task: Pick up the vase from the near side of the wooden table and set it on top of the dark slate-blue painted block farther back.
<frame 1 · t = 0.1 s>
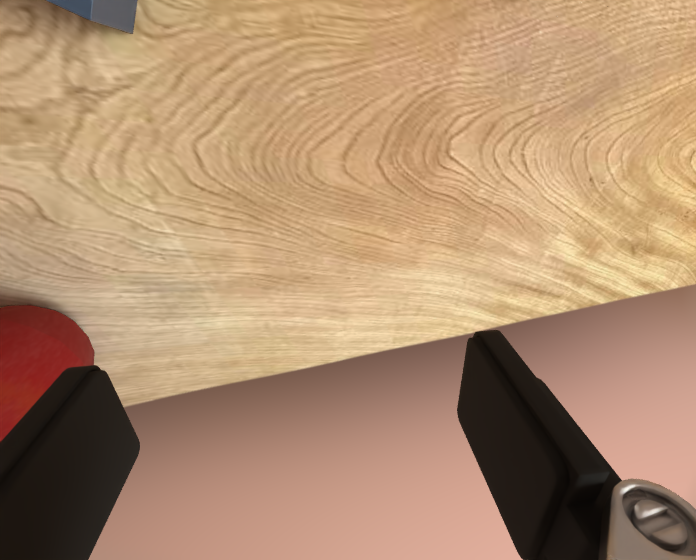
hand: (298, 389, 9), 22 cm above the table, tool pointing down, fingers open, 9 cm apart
apple: (57, 332, 33), on the table
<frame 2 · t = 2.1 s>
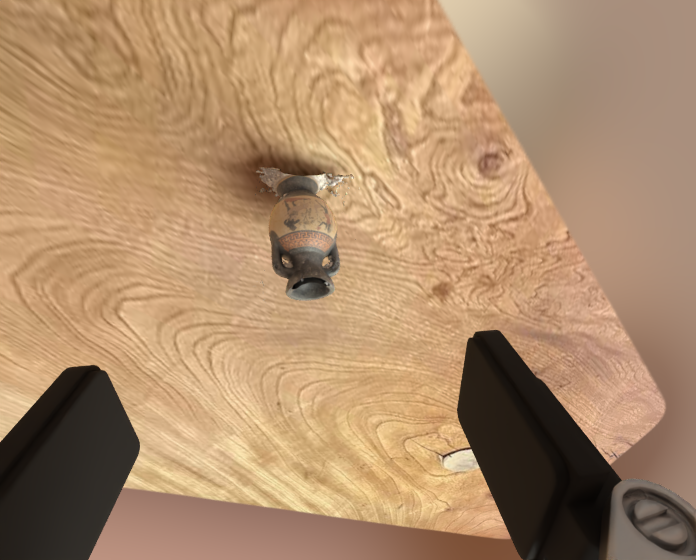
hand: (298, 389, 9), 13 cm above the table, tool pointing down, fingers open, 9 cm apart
vase: (305, 215, 21), on the table
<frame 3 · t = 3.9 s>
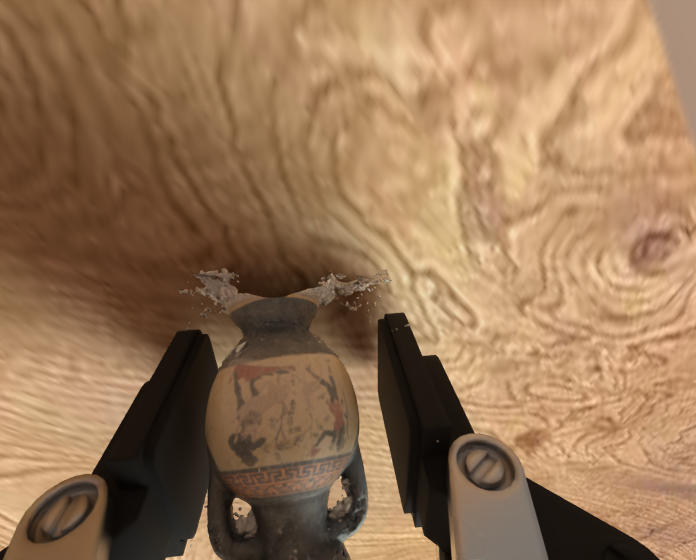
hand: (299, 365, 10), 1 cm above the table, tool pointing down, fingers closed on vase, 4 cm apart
vase: (297, 340, 11), on the table, touching gripper
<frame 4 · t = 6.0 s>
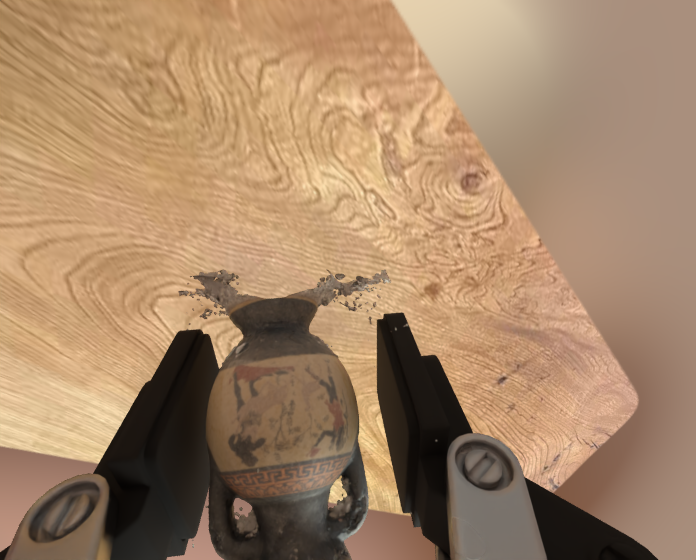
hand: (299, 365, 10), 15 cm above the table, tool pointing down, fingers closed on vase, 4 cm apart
vase: (298, 341, 11), point 15 cm above the table, touching gripper
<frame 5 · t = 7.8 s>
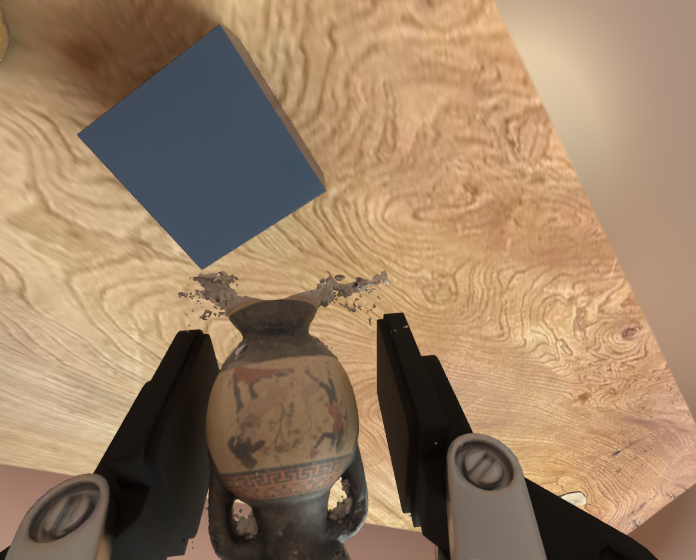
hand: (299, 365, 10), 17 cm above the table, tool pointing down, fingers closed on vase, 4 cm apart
block: (228, 151, 23), on the table
vase: (298, 342, 11), point 16 cm above the table, touching gripper
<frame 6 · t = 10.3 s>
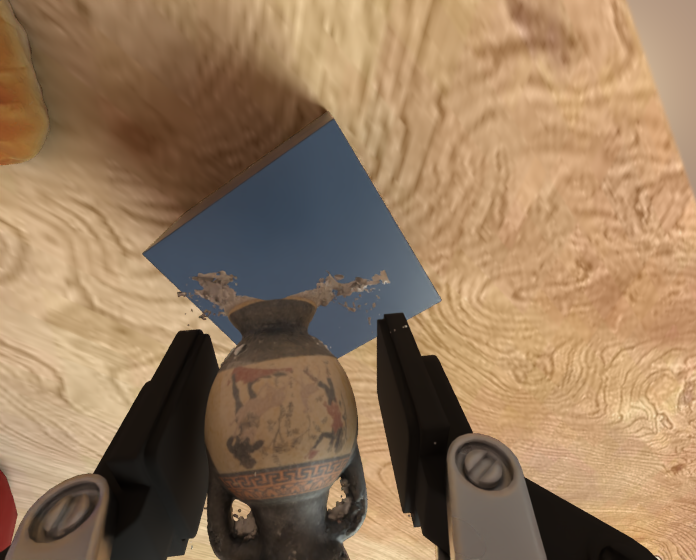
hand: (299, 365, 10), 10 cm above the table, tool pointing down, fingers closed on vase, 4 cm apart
block: (305, 236, 19), on the table
vase: (297, 341, 11), point 9 cm above the table, touching gripper
when the fingers open (6 cm above the table, at t = 12.0 s): vase stays where it is, resting on block.
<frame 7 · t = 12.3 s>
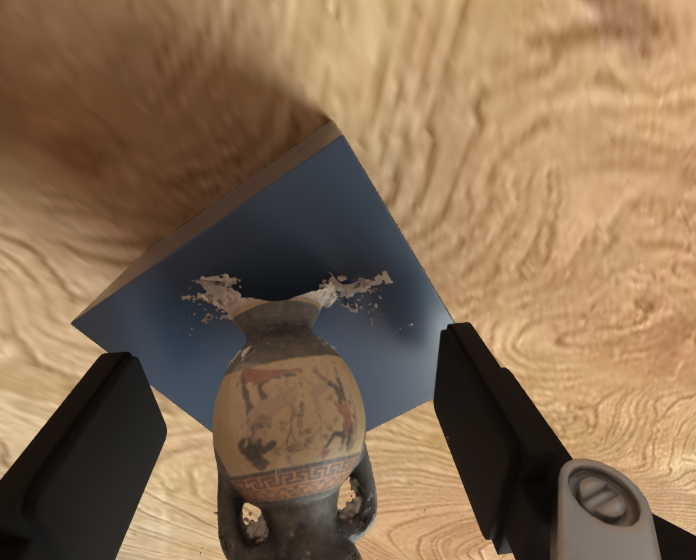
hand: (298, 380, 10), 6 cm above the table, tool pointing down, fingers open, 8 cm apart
block: (302, 276, 15), on the table, touching vase
vase: (299, 344, 11), point 5 cm above the table, touching block
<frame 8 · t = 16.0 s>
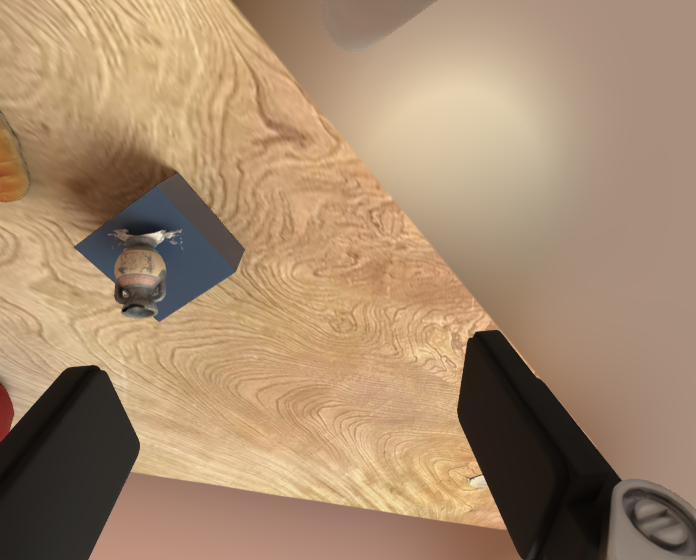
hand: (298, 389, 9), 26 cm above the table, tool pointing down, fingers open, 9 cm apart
block: (177, 238, 34), on the table, touching vase
vase: (158, 257, 30), point 5 cm above the table, touching block
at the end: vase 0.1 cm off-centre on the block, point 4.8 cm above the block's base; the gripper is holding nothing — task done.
